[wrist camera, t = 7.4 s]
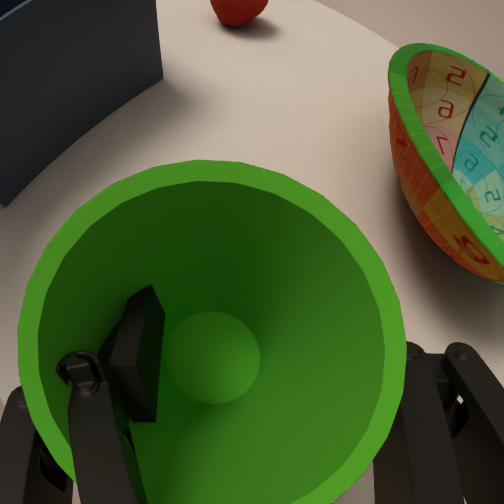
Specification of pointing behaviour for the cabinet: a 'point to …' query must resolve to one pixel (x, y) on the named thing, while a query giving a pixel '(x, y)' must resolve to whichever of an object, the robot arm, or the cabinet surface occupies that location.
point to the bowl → (451, 152)
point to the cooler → (67, 75)
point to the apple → (237, 10)
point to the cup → (226, 332)
